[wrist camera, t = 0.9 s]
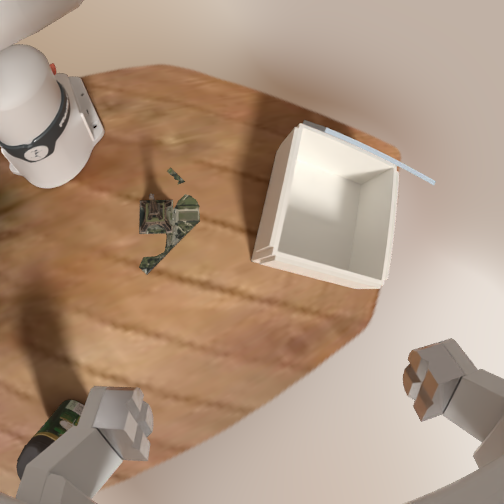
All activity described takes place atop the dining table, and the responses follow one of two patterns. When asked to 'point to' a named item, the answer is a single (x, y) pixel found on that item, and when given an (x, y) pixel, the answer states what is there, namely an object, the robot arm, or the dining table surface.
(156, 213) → the eiffel tower figurine
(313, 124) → the lid flap
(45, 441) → the coffee jar
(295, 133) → the carton
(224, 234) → the dining table surface
